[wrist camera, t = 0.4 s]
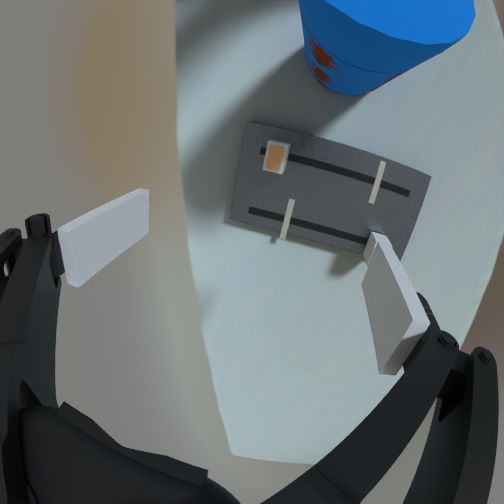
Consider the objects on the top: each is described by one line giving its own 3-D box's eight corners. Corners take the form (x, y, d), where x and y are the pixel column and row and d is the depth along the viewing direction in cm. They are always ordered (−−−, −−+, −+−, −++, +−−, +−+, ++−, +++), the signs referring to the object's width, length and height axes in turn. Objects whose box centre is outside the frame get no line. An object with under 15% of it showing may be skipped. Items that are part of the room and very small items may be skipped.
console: (250, 121, 35) (246, 121, 33) (426, 173, 32) (431, 176, 30) (232, 220, 42) (228, 225, 40) (392, 264, 39) (395, 270, 37)
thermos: (344, 111, 32) (401, 82, 10) (289, 55, 30) (249, -45, 7) (399, 71, 27) (503, 16, 5) (346, 15, 25) (375, -96, 3)
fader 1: (272, 139, 33) (267, 140, 29) (290, 143, 33) (288, 145, 29) (267, 165, 35) (261, 170, 31) (284, 170, 35) (281, 175, 31)
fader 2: (371, 231, 35) (377, 243, 32) (386, 235, 35) (393, 248, 31) (362, 253, 37) (367, 268, 33) (377, 258, 37) (383, 272, 33)
